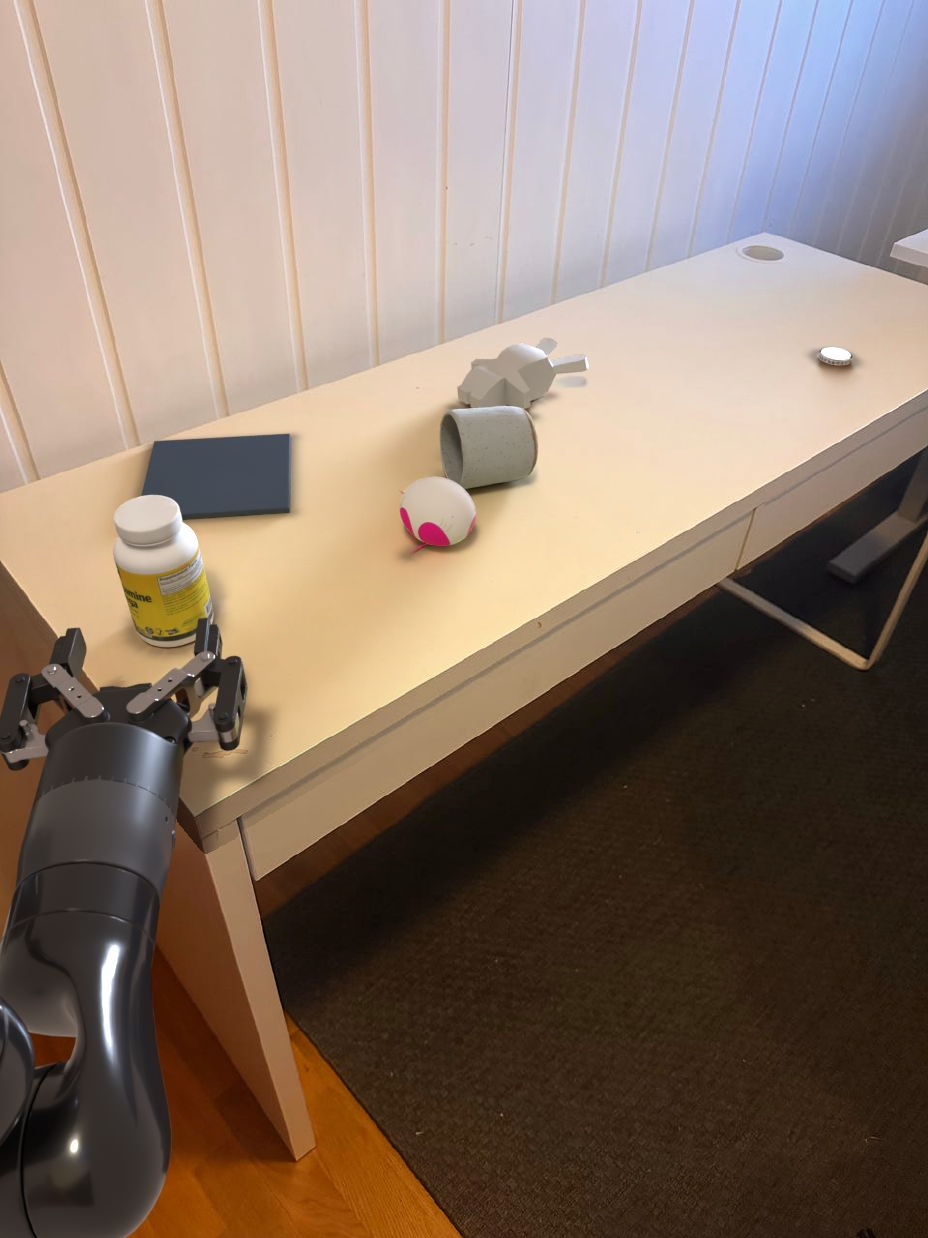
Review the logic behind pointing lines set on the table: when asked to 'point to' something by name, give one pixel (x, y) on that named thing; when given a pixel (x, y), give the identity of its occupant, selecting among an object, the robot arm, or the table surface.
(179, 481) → the mat
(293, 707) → the table surface
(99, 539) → the table surface
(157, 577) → the pill bottle
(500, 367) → the bunny figurine
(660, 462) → the table surface
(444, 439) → the ceramic mug
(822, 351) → the white bottle cap
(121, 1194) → the robot arm
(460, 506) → the stress ball
